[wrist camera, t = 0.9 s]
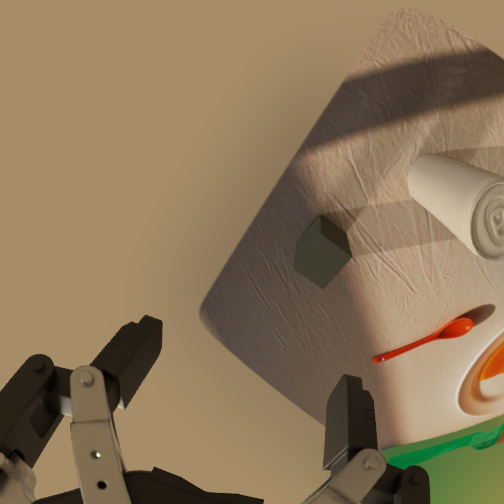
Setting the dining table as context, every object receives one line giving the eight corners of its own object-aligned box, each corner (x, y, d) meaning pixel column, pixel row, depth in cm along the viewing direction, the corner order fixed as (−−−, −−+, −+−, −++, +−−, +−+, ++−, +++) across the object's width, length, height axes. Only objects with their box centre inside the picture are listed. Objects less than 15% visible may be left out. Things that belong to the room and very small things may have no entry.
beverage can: (436, 143, 21) (515, 162, 10) (459, 189, 22) (536, 236, 11) (395, 170, 23) (455, 207, 12) (420, 215, 24) (480, 279, 13)
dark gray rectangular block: (296, 244, 27) (292, 269, 23) (320, 214, 26) (321, 233, 21) (322, 262, 27) (323, 289, 23) (346, 233, 26) (352, 256, 21)
